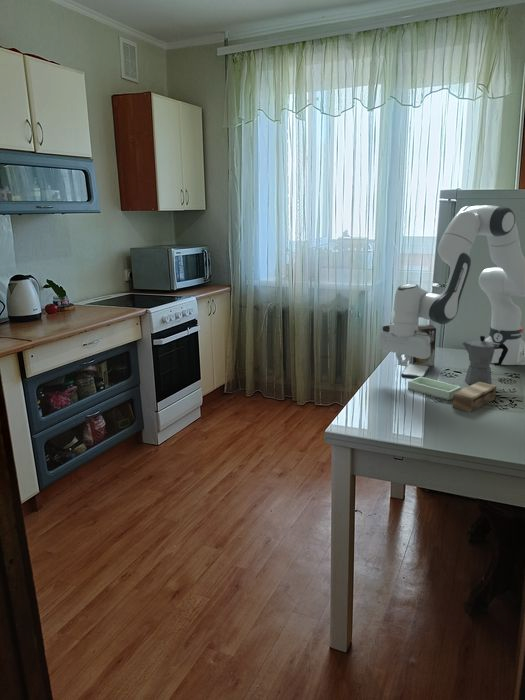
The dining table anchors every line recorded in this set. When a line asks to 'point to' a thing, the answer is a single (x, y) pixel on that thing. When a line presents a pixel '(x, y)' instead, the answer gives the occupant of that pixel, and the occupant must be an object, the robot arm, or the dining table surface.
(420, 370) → the smartphone
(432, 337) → the coffee box
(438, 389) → the tray
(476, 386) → the walnut shelf
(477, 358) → the coffeepot
